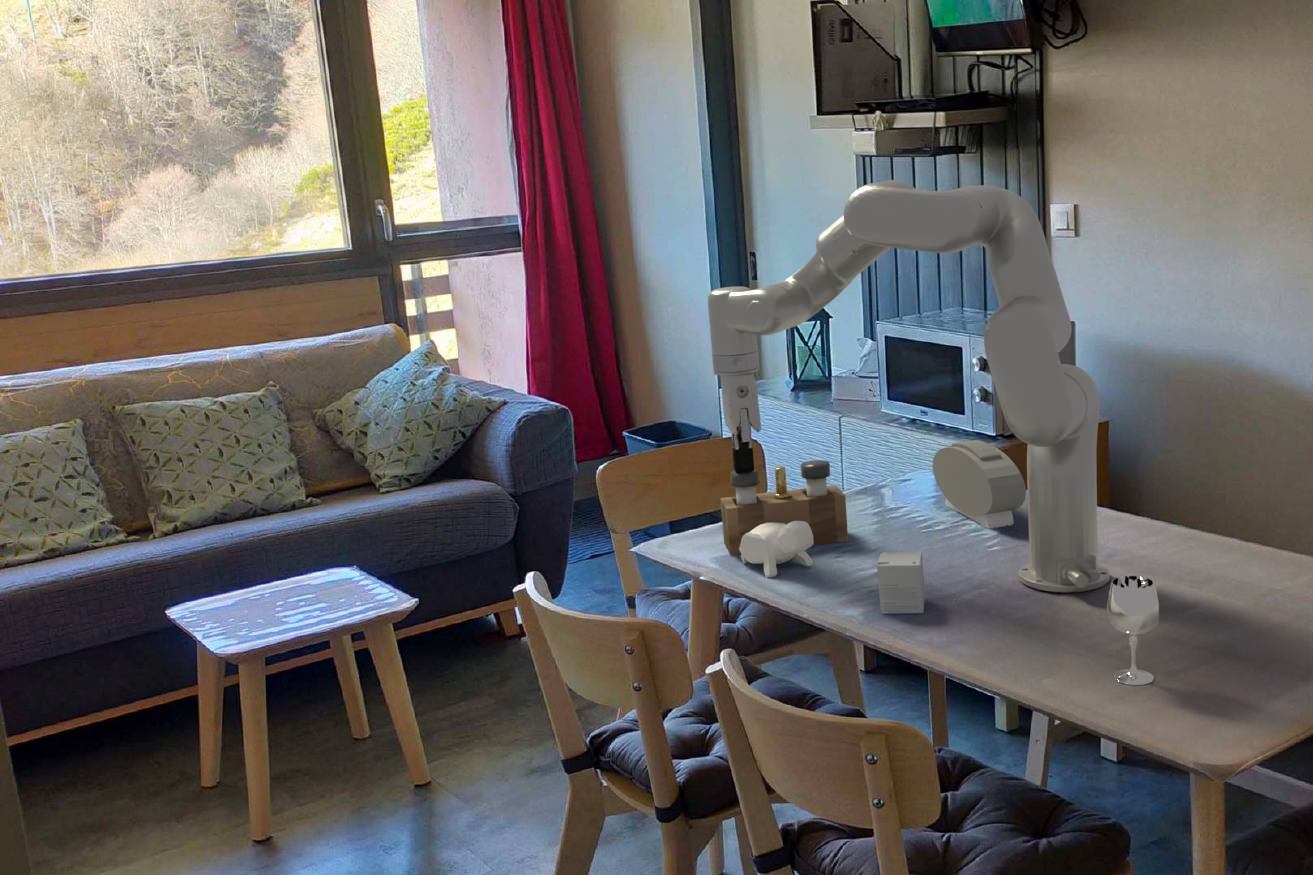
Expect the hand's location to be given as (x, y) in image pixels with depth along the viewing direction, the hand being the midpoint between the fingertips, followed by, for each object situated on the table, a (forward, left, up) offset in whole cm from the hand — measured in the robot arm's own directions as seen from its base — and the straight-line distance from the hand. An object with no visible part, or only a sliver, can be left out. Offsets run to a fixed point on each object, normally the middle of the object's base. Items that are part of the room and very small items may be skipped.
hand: (744, 470), depth 213 cm
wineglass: (-68, -35, -13) cm, 78 cm away
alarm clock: (+3, -41, -13) cm, 43 cm away
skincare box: (-36, -16, -13) cm, 42 cm away
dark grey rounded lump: (0, 0, -9) cm, 9 cm away
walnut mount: (0, -6, -13) cm, 14 cm away
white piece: (-13, -3, -13) cm, 19 cm away
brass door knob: (0, -6, -5) cm, 8 cm away
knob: (0, -12, -9) cm, 15 cm away
